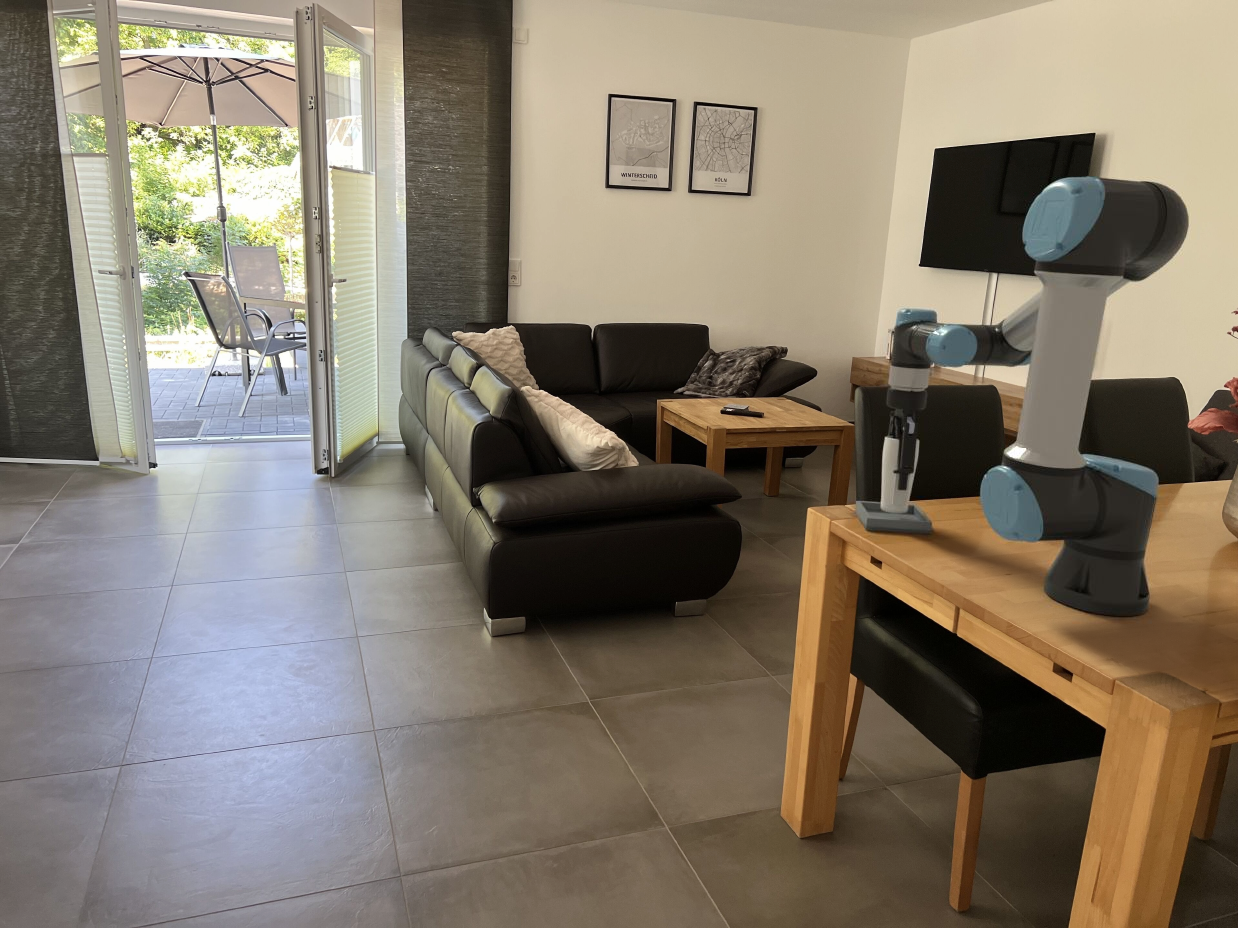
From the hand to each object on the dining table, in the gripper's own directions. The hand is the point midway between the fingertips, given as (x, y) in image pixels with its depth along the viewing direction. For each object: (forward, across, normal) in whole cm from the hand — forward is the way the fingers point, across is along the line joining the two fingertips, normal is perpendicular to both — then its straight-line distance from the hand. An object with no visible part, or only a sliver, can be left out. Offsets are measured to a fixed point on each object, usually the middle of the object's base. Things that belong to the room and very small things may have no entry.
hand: (894, 499), depth 179 cm
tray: (+5, 0, 0) cm, 5 cm away
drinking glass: (+2, -1, 0) cm, 3 cm away
